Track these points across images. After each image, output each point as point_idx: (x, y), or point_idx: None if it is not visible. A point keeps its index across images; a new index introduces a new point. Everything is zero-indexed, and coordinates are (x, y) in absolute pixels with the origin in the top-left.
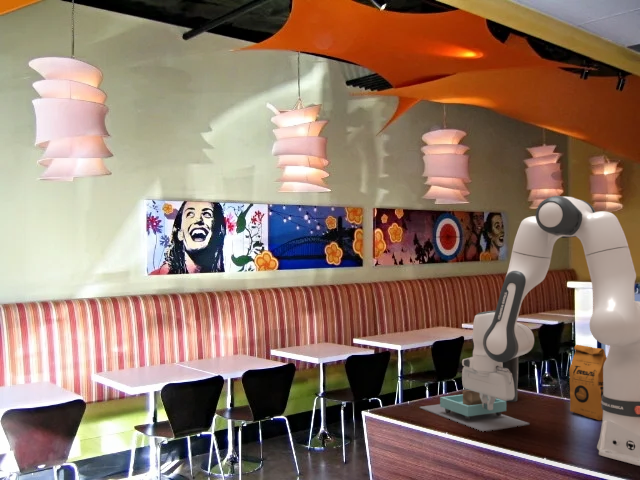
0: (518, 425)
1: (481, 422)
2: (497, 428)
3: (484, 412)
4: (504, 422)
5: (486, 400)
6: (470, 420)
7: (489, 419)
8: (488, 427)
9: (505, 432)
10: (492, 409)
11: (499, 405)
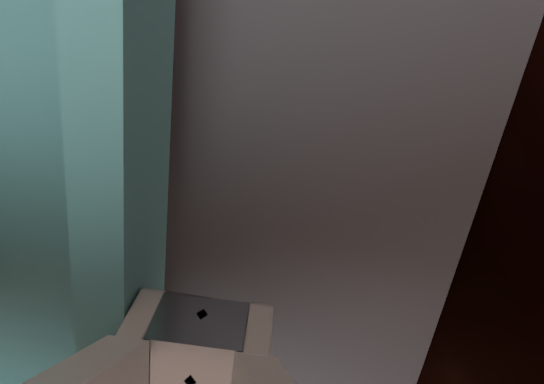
0: (518, 78)
1: (216, 296)
2: (434, 326)
3: (158, 278)
4: (349, 124)
5: (119, 380)
6: None
7: (172, 161)
8: (366, 361)
9: (526, 327)
10: (272, 309)
11: (143, 37)
